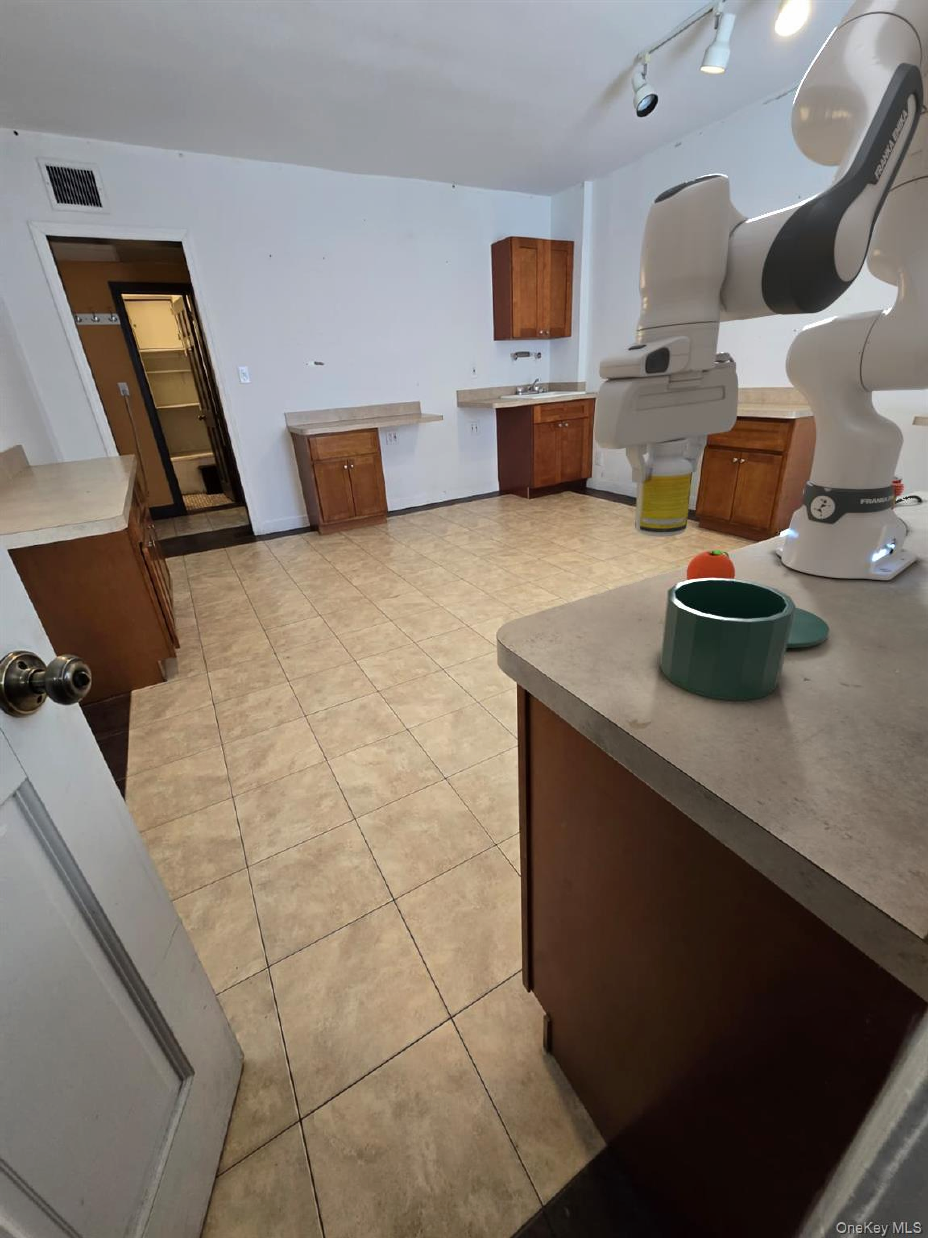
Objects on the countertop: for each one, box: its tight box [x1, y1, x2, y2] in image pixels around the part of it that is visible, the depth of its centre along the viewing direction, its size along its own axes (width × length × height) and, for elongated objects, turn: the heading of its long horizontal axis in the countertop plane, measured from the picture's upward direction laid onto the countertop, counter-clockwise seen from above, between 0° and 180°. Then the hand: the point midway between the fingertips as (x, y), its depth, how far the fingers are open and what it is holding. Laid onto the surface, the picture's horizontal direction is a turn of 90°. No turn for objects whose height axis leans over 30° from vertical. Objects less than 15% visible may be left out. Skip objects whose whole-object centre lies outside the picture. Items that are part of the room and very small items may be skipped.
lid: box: [786, 607, 830, 649], centre depth 69 cm, size 14×14×5 cm
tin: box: [659, 578, 797, 702], centre depth 59 cm, size 13×13×10 cm
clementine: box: [686, 549, 736, 581], centre depth 81 cm, size 8×7×7 cm
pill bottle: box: [634, 438, 693, 538], centre depth 66 cm, size 6×6×12 cm
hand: (664, 477), depth 65 cm, fingers closed on pill bottle, 6 cm apart
